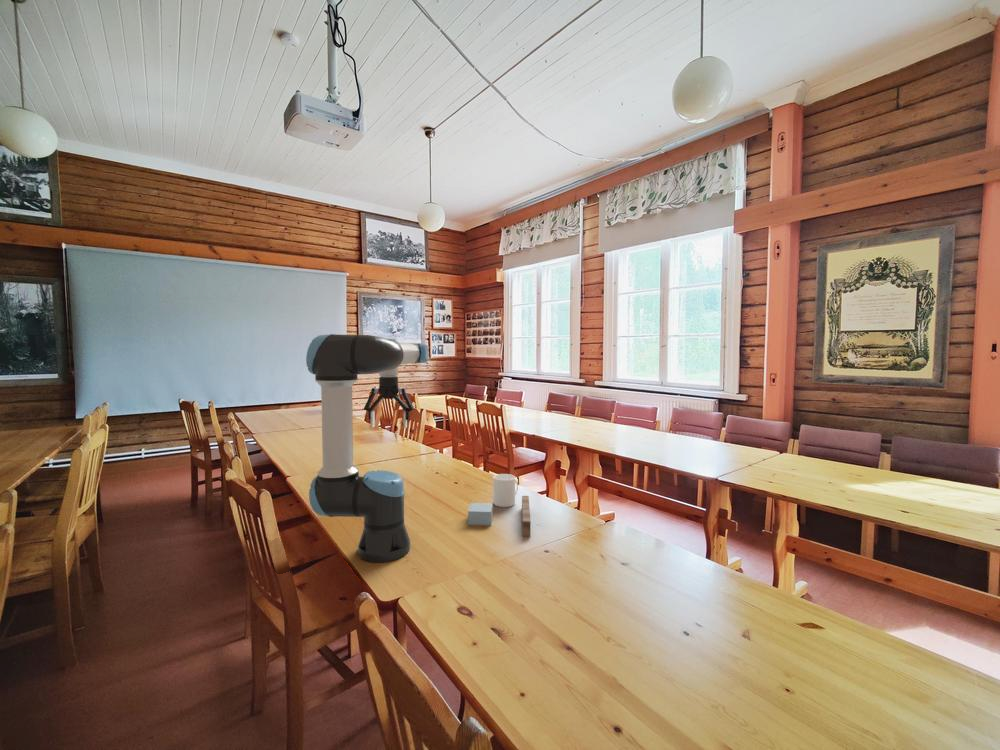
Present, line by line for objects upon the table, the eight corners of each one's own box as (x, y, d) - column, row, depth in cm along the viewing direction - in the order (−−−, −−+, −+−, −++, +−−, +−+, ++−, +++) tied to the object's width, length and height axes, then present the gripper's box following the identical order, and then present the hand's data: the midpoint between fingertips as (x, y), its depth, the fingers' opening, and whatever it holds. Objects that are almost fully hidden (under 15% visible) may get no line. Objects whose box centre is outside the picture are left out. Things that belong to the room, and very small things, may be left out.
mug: (525, 501, 170) (525, 475, 169) (503, 509, 161) (503, 481, 161) (510, 496, 176) (510, 470, 175) (488, 503, 168) (488, 476, 167)
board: (530, 536, 138) (530, 521, 138) (522, 536, 138) (522, 520, 138) (528, 508, 162) (528, 495, 162) (521, 508, 162) (521, 495, 162)
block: (491, 526, 147) (491, 511, 146) (468, 525, 147) (468, 511, 147) (492, 516, 155) (492, 503, 154) (470, 516, 155) (470, 502, 155)
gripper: (420, 376, 178) (421, 426, 179) (362, 375, 179) (362, 425, 180) (416, 377, 170) (416, 429, 172) (355, 376, 171) (356, 428, 173)
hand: (389, 427), depth 176 cm, fingers open, 13 cm apart
